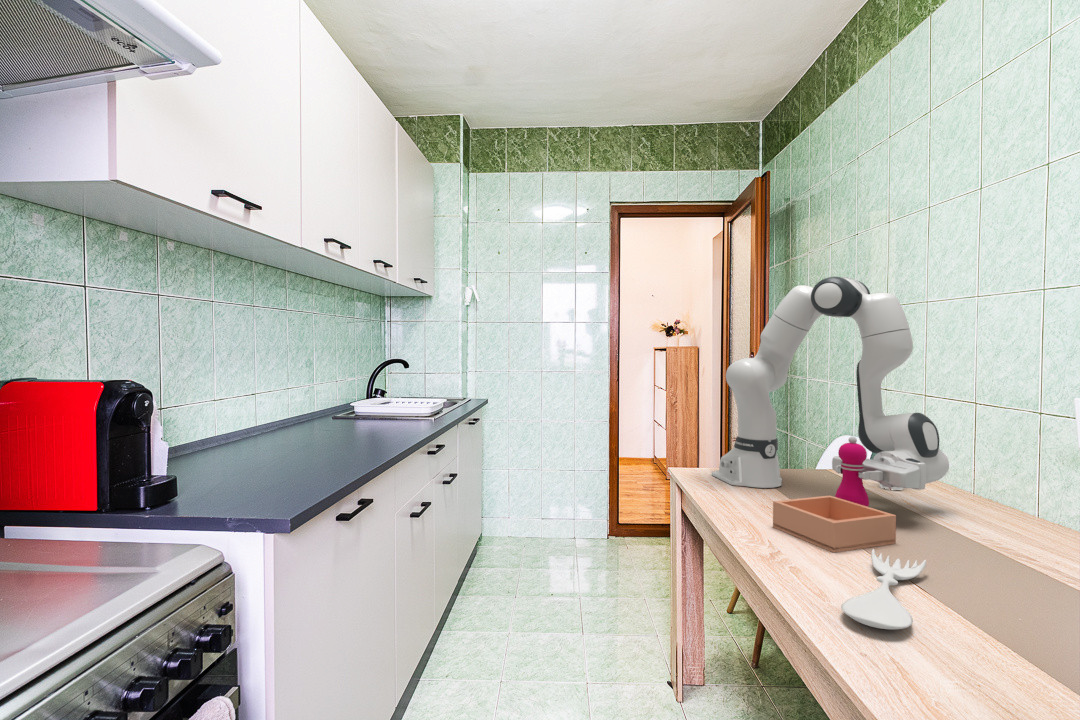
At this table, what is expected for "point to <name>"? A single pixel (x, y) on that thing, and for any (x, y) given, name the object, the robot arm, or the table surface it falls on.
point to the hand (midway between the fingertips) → (849, 472)
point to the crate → (834, 523)
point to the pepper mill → (852, 473)
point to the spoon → (883, 597)
